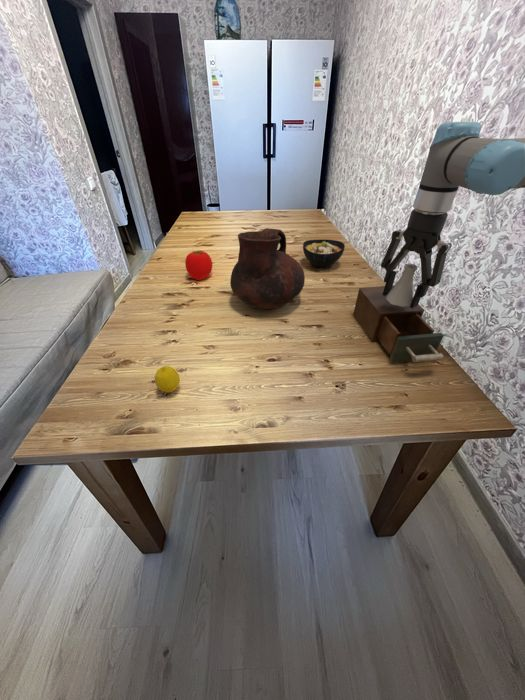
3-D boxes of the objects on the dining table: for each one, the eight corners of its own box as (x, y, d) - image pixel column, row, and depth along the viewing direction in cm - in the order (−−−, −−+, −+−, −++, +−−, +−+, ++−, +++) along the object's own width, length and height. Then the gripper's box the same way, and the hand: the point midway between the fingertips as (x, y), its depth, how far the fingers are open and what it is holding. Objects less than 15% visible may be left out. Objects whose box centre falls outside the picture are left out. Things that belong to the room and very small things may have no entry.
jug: (315, 296, 104) (323, 224, 88) (276, 329, 88) (278, 250, 72) (260, 278, 115) (258, 212, 99) (217, 305, 100) (208, 232, 84)
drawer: (443, 372, 72) (457, 348, 67) (400, 376, 71) (410, 352, 66) (406, 329, 86) (415, 306, 81) (369, 332, 85) (376, 310, 80)
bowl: (303, 256, 132) (305, 234, 125) (341, 258, 129) (344, 236, 123) (299, 272, 119) (301, 248, 113) (341, 275, 116) (345, 251, 110)
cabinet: (413, 338, 84) (424, 310, 78) (371, 342, 83) (380, 313, 77) (389, 311, 95) (398, 284, 89) (353, 314, 94) (359, 287, 88)
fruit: (173, 378, 73) (166, 355, 68) (187, 389, 70) (180, 365, 65) (154, 391, 70) (145, 368, 64) (168, 402, 67) (160, 379, 62)
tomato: (183, 281, 114) (177, 255, 107) (194, 270, 122) (189, 245, 115) (207, 284, 112) (203, 257, 105) (217, 272, 120) (213, 247, 113)
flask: (383, 293, 81) (393, 259, 75) (409, 294, 81) (422, 260, 74) (388, 306, 76) (399, 271, 69) (416, 308, 75) (430, 273, 69)
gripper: (487, 217, 59) (443, 311, 74) (398, 199, 71) (376, 282, 86) (470, 224, 55) (428, 321, 70) (380, 204, 68) (360, 289, 83)
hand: (399, 299), depth 78 cm, fingers closed on flask, 8 cm apart
